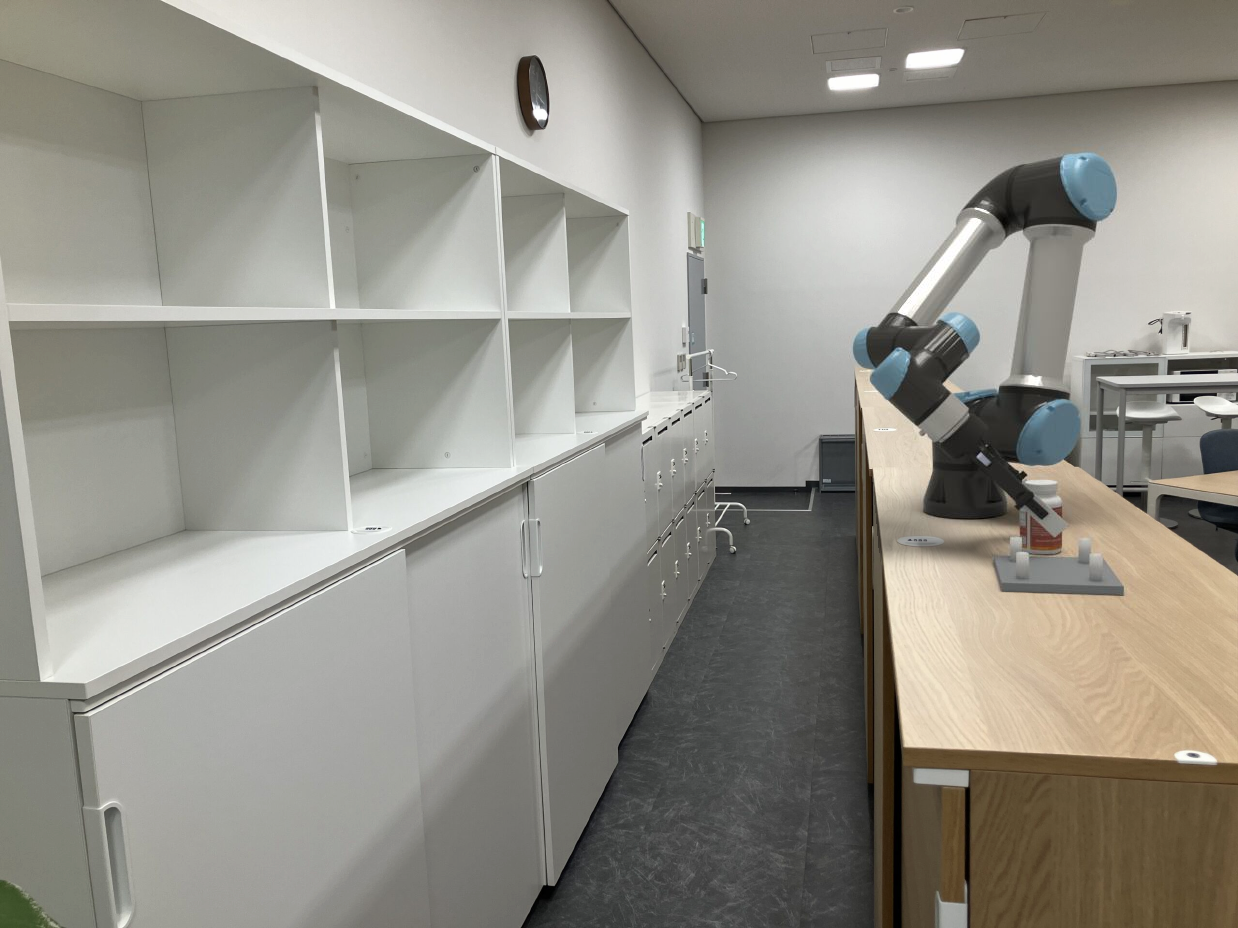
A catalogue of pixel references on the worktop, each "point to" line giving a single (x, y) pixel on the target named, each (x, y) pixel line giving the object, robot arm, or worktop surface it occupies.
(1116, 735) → the worktop surface
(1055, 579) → the peg board
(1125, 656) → the worktop surface
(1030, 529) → the pill bottle
